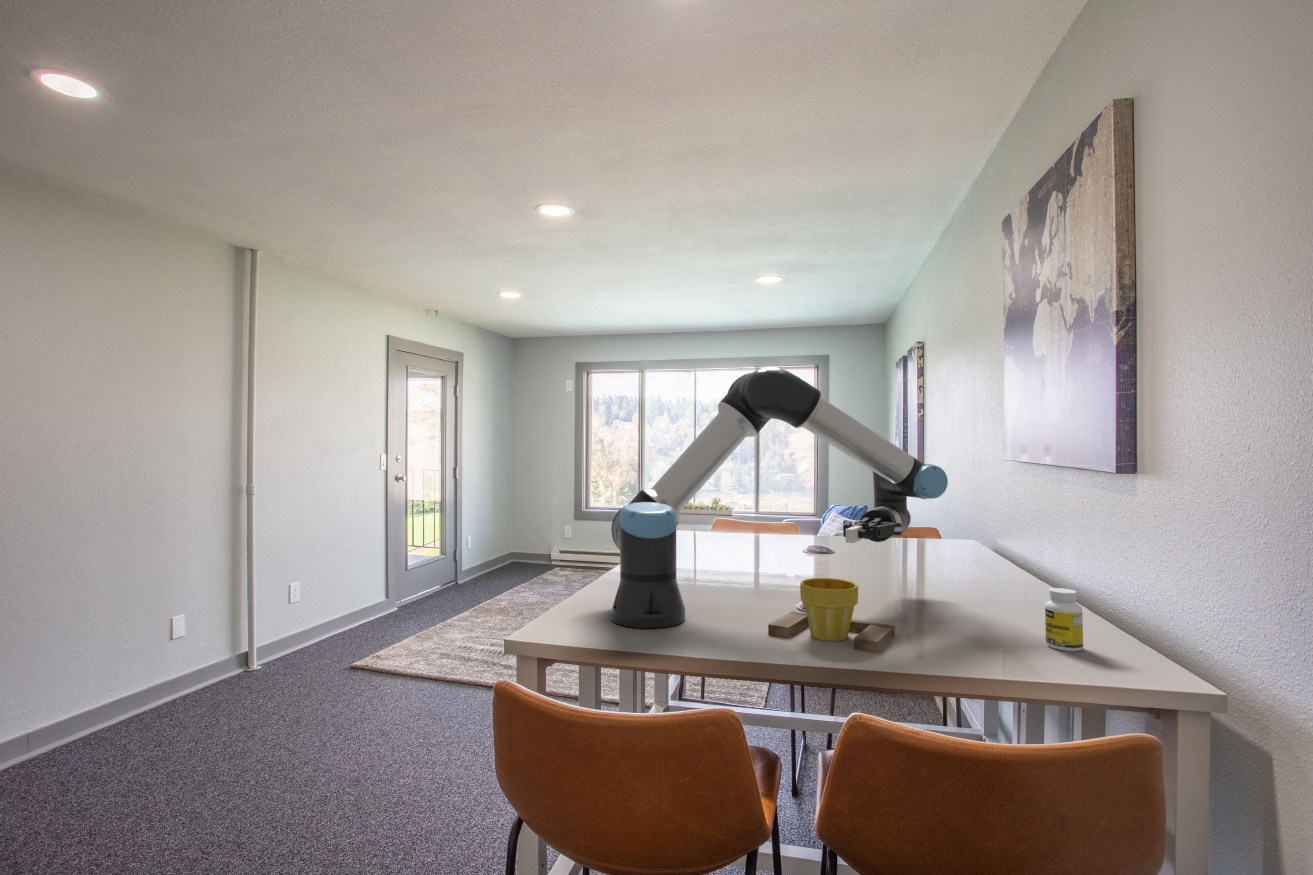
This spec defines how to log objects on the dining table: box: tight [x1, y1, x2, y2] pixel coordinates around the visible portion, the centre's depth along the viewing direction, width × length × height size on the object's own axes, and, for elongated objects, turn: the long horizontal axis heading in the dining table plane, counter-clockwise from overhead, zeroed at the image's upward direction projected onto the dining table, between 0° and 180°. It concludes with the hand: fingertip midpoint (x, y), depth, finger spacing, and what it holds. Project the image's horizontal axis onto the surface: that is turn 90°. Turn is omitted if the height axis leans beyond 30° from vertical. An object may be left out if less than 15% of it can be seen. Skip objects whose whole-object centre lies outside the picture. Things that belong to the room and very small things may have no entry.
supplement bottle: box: [1044, 587, 1084, 653], centre depth 106 cm, size 5×5×10 cm
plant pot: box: [799, 577, 859, 642], centre depth 114 cm, size 10×10×10 cm
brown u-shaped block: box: [767, 610, 896, 653], centre depth 115 cm, size 20×12×2 cm, turn 56°
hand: (849, 536), depth 124 cm, fingers closed
